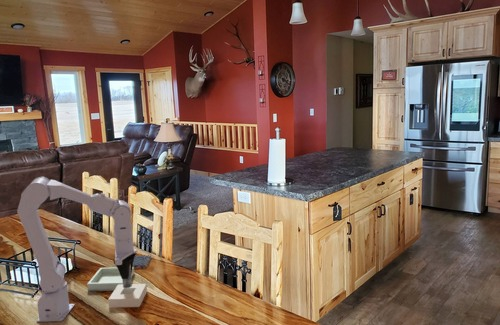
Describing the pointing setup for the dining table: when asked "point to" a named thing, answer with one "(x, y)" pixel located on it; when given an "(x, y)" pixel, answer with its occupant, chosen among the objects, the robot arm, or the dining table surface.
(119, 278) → the tray
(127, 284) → the steel pin
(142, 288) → the block
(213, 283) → the dining table surface
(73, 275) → the dining table surface
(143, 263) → the woven mat
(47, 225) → the dining table surface
